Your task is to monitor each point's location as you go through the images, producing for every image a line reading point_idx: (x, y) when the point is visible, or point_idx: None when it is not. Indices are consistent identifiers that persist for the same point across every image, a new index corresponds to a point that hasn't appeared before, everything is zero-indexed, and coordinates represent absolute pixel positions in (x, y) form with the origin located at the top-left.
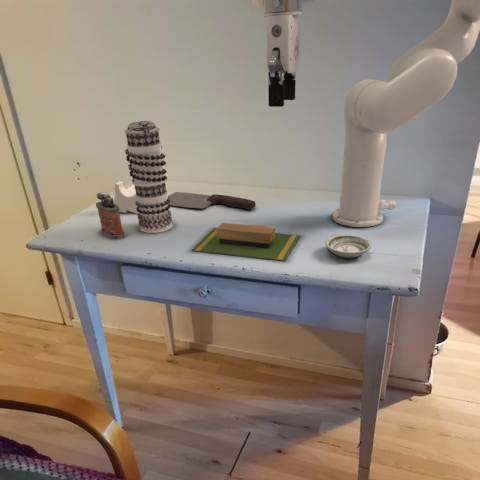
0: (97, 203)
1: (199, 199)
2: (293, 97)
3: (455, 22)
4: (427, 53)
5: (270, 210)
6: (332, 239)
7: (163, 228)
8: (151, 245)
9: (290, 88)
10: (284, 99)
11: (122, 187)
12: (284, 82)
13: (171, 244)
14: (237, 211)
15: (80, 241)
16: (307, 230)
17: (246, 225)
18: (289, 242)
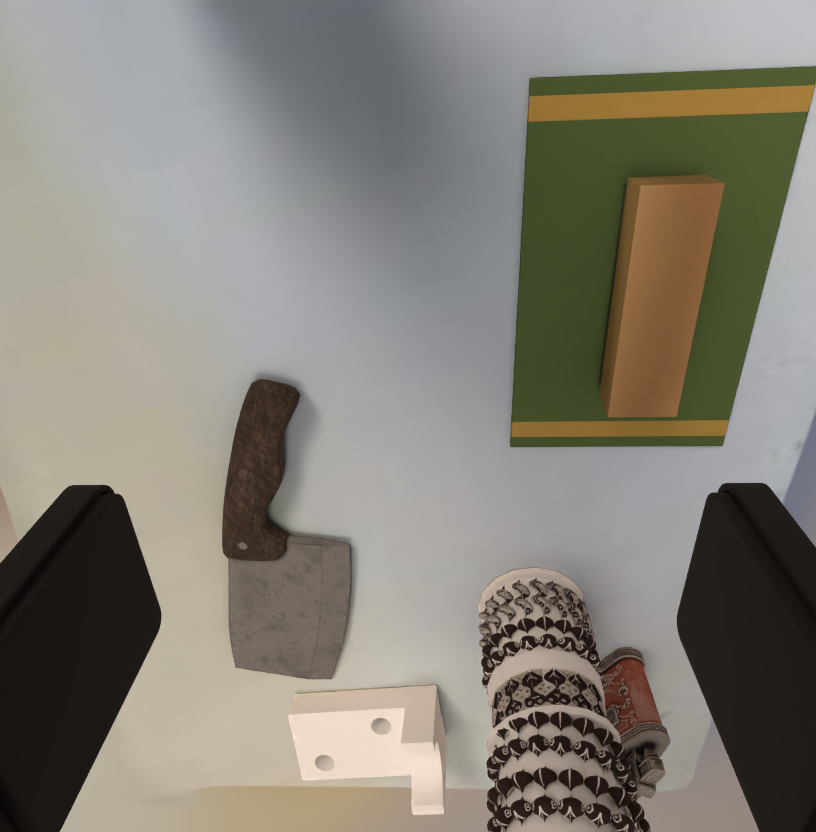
0: None
1: (280, 581)
2: (111, 507)
3: None
4: None
5: (252, 310)
6: None
7: (558, 583)
8: (681, 563)
9: (58, 638)
10: (152, 588)
11: (420, 789)
12: (47, 792)
13: (668, 517)
14: (313, 429)
15: (667, 717)
16: (443, 62)
17: (630, 318)
18: (620, 106)
